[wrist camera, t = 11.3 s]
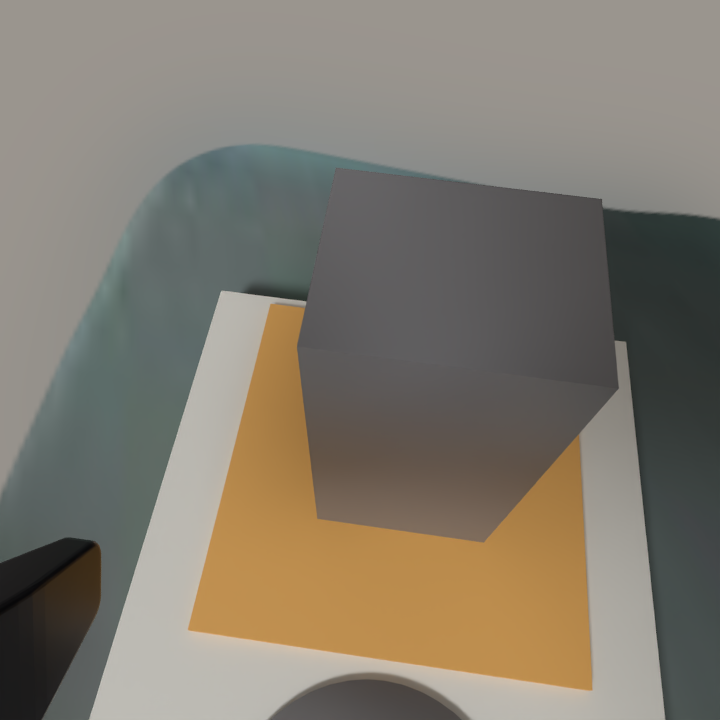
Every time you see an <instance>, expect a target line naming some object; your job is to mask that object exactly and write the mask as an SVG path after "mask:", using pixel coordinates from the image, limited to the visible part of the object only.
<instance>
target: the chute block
mask: <svg viewBox="0 0 720 720" xmlns="http://www.w3.org/2000/svg"><path fill="white" fill-rule="evenodd" d="M297 352H298V361H299V369H300V378H301V386H302V394H303V403H304V411H305V419H306V428H307V436H308V445H309V453H310V461H311V470H312V478H313V486H314V495H315V503H316V512H317V519H322V520H329V521H336V522H343V523H350V524H357V525H364V526H371V527H378V528H385V529H392V530H399V531H406V532H413V533H420V534H427V535H434V536H441V537H448V538H455V539H462V540H469V541H476V542H483V543H484V542H485V541H486V539H487V538H488V537H489V536H490V535H491V534H492V533H493V531H494V530H495V529H496V528H497V527H498V526H499V525H500V524H501V522H502V521H503V520H504V519H505V518H506V517H507V516H508V514H509V513H510V512H511V511H512V510H513V509H514V508H515V506H516V505H517V504H518V503H519V502H520V501H521V500H522V498H523V497H524V496H525V495H526V494H527V493H528V492H529V490H530V489H531V488H532V487H533V486H534V485H535V484H536V482H537V481H538V480H539V479H540V478H541V477H542V476H543V474H544V473H545V472H546V471H547V470H548V469H549V468H550V466H551V465H552V464H553V463H554V462H555V461H556V460H557V459H558V457H559V456H560V455H561V454H562V453H563V452H564V451H565V449H566V448H567V447H568V446H569V445H570V444H571V443H572V441H573V440H574V439H575V438H576V437H577V436H578V435H579V433H580V432H581V431H582V430H583V429H584V428H585V427H586V425H587V424H588V423H589V422H590V421H591V420H592V419H593V417H594V416H595V415H596V414H597V413H598V412H599V411H600V409H601V408H602V407H603V406H604V405H605V404H606V403H607V402H608V400H609V399H610V398H611V397H612V396H613V395H614V394H615V392H616V391H617V390H618V389H619V384H618V373H617V362H616V351H615V340H614V329H613V318H612V307H611V296H610V285H609V274H608V263H607V252H606V241H605V230H604V219H603V208H602V199H596V198H587V197H579V196H570V195H562V194H553V193H545V192H536V191H528V190H519V189H511V188H503V187H494V186H486V185H477V184H469V183H460V182H452V181H443V180H435V179H427V178H418V177H410V176H401V175H393V174H384V173H376V172H367V171H359V170H350V169H342V168H336V170H335V174H334V179H333V183H332V188H331V193H330V197H329V202H328V206H327V211H326V215H325V220H324V225H323V229H322V234H321V238H320V243H319V247H318V252H317V256H316V261H315V266H314V270H313V275H312V279H311V284H310V288H309V293H308V297H307V302H306V307H305V311H304V316H303V320H302V325H301V329H300V334H299V338H298V343H297Z"/></svg>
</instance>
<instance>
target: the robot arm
mask: <svg viewBox="0 0 720 720" xmlns="http://www.w3.org/2000/svg"><path fill="white" fill-rule="evenodd" d="M100 599H101V550H100V546H99V545H98V544H97V543H96V542H95V541H91V540H84V539H77V538H63V539H61V540H58V541H56V542H53V543H50V544H48V545H45V546H43V547H40V548H38V549H35V550H33V551H30V552H27V553H25V554H22V555H20V556H17V557H15V558H12V559H10V560H7V561H4V562H2V563H0V720H42V719H43V718H44V716H45V714H46V712H47V710H48V708H49V706H50V704H51V702H52V700H53V698H54V696H55V695H56V693H57V691H58V689H59V687H60V685H61V683H62V681H63V679H64V677H65V675H66V673H67V671H68V669H69V667H70V665H71V663H72V661H73V659H74V658H75V656H76V654H77V652H78V650H79V648H80V646H81V644H82V642H83V640H84V638H85V636H86V634H87V632H88V630H89V628H90V626H91V624H92V622H93V621H94V619H95V616H96V614H97V611H98V608H99V605H100Z"/></svg>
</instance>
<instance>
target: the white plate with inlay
mask: <svg viewBox="0 0 720 720" xmlns="http://www.w3.org/2000/svg"><path fill="white" fill-rule="evenodd" d="M306 302H307V301H299V300H291V299H283V298H275V297H267V296H259V295H251V294H243V293H236V292H228V291H221V294H220V297H219V300H218V303H217V307H216V310H215V313H214V316H213V320H212V323H211V326H210V329H209V333H208V336H207V339H206V342H205V346H204V349H203V352H202V355H201V359H200V362H199V365H198V368H197V372H196V375H195V378H194V381H193V385H192V388H191V391H190V394H189V398H188V401H187V404H186V407H185V410H184V414H183V417H182V420H181V423H180V427H179V430H178V433H177V436H176V440H175V443H174V446H173V449H172V453H171V456H170V459H169V462H168V466H167V469H166V472H165V475H164V479H163V482H162V485H161V488H160V492H159V495H158V498H157V501H156V505H155V508H154V511H153V514H152V518H151V521H150V524H149V527H148V531H147V534H146V537H145V540H144V544H143V547H142V550H141V553H140V557H139V560H138V563H137V566H136V570H135V573H134V576H133V579H132V583H131V586H130V589H129V592H128V596H127V599H126V602H125V605H124V609H123V612H122V615H121V618H120V622H119V625H118V628H117V631H116V635H115V638H114V641H113V644H112V648H111V651H110V654H109V657H108V661H107V664H106V667H105V670H104V674H103V677H102V680H101V683H100V687H99V690H98V693H97V696H96V699H95V703H94V706H93V709H92V712H91V716H90V719H89V720H665V713H664V703H663V694H662V684H661V675H660V665H659V655H658V646H657V636H656V626H655V617H654V607H653V597H652V588H651V578H650V568H649V559H648V549H647V540H646V530H645V520H644V511H643V501H642V491H641V482H640V472H639V462H638V453H637V443H636V434H635V424H634V414H633V405H632V395H631V385H630V376H629V366H628V356H627V347H626V342H623V341H615V351H616V362H617V373H618V384H619V389H618V390H617V391H616V392H615V394H614V395H613V396H612V397H611V398H610V399H609V400H608V402H607V403H606V404H605V405H604V406H603V407H602V408H601V409H600V411H599V412H598V413H597V414H596V415H595V416H594V417H593V419H592V420H591V421H590V422H589V423H588V424H587V425H586V427H585V428H584V429H583V430H582V431H581V432H580V433H579V435H578V436H577V437H576V438H575V439H574V440H573V441H572V443H571V444H570V445H569V446H568V447H567V448H566V449H565V451H564V452H563V453H562V454H561V455H560V456H559V457H558V459H557V460H556V461H555V462H554V463H553V464H552V465H551V466H550V468H549V469H548V470H547V471H546V472H545V473H544V474H543V476H542V477H541V478H540V479H539V480H538V481H537V482H536V484H535V485H534V486H533V487H532V488H531V489H530V490H529V492H528V493H527V494H526V495H525V496H524V497H523V498H522V500H521V501H520V502H519V503H518V504H517V505H516V506H515V508H514V509H513V510H512V511H511V512H510V513H509V514H508V516H507V517H506V518H505V519H504V520H503V521H502V522H501V524H500V525H499V526H498V527H497V528H496V529H495V530H494V531H493V533H492V534H491V535H490V536H489V537H488V538H487V539H486V541H485V542H484V543H483V542H476V541H469V540H462V539H455V538H448V537H441V536H434V535H427V534H420V533H413V532H406V531H399V530H392V529H385V528H378V527H371V526H364V525H357V524H350V523H343V522H336V521H329V520H322V519H317V512H316V503H315V495H314V486H313V478H312V470H311V461H310V453H309V445H308V436H307V428H306V419H305V411H304V403H303V394H302V386H301V378H300V369H299V361H298V352H297V343H298V338H299V334H300V329H301V325H302V320H303V316H304V311H305V307H306Z"/></svg>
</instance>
